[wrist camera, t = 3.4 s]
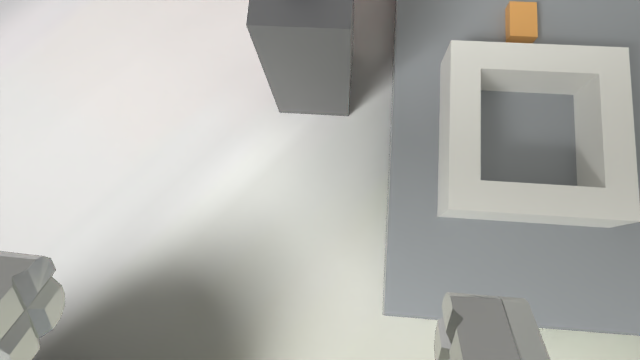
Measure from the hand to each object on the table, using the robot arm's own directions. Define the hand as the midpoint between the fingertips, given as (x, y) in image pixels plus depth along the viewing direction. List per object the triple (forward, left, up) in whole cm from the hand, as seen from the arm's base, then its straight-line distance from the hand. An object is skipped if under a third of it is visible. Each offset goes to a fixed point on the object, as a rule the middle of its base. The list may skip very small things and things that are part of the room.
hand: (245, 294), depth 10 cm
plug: (+11, -2, -14) cm, 18 cm away
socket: (+6, -12, -14) cm, 20 cm away
